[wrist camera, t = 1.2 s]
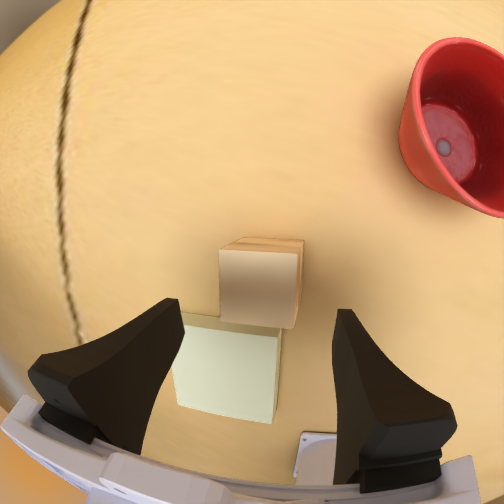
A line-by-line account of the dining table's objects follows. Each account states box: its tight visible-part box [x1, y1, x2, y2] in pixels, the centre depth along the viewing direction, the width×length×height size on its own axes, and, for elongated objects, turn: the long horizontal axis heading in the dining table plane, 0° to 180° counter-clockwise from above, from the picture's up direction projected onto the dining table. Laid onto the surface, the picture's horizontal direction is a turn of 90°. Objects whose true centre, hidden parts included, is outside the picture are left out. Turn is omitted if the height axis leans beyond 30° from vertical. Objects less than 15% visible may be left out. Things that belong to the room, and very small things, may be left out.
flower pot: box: [399, 37, 504, 218], centre depth 14 cm, size 11×11×10 cm
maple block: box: [219, 237, 304, 329], centre depth 21 cm, size 5×5×6 cm
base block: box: [172, 312, 282, 424], centre depth 26 cm, size 10×10×3 cm
